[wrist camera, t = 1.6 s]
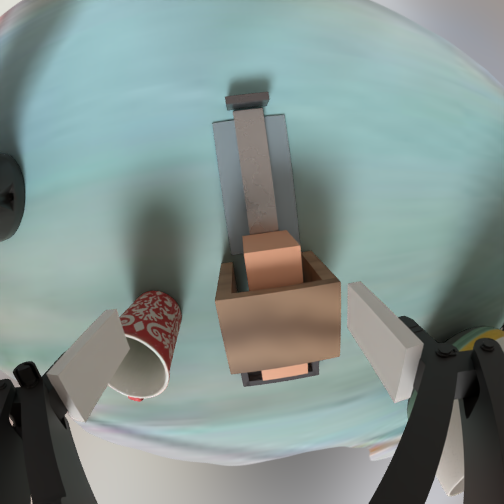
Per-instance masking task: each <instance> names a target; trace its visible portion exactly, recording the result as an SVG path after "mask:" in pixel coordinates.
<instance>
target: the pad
mask: <svg viewBox="0 0 504 504" xmlns="http://www.w3.org/2000/svg"><path fill="white" fill-rule="evenodd" d="M264 122H265V129H266V136H267V143H268V150H269V157H270V165H271V173H272V180H273V188H274V196H275V204H276V213H277V221H278V230H279V231H283V230H287V231H288V232H289V233H290V235H291V236H292V237H293V238H294V239H295V240H296V241H297V242H298V244H299V245H300V239H299V229H298V219H297V209H296V200H295V191H294V183H293V174H292V166H291V159H290V151H289V144H288V137H287V130H286V123H285V116H284V115H278V116H267V117H264ZM212 124H213V132H214V139H215V147H216V154H217V161H218V168H219V175H220V182H221V189H222V196H223V203H224V210H225V217H226V223H227V230H228V236H229V243H230V249H231V255H235V254H243V253H244V250H243V238H242V236H247V235H250V232H249V225H248V218H247V210H246V203H245V196H244V189H243V181H242V174H241V167H240V159H239V152H238V145H237V138H236V130H235V123H234V120H232V121H225V122H218V123H212Z"/></svg>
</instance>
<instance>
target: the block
mask: <svg viewBox="0 0 504 504" xmlns="http://www.w3.org/2000/svg"><path fill="white" fill-rule="evenodd" d="M242 238H243V250H244V258H245V265H246V272H247V279H248V286H249V291H254V290H261V289H268V288H275V287H281V286H288V285H294V284H300V283H303V272H302V259H301V248H300V245H299V244H298V242H297V241H296V240H295V239H294V238H293V237H292V236H291V235H290V233H289V232H288V231H287V230H283V231H276V232H268V233H261V234H254V235H247V236H242ZM307 373H308V363H305V364H300V365H294V366H288V367H282V368H276V369H269V370H262V378H263V381H265V380H271V379H278V378H284V377H290V376H296V375H301V374H307Z"/></svg>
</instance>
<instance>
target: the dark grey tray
mask: <svg viewBox="0 0 504 504" xmlns="http://www.w3.org/2000/svg"><path fill="white" fill-rule="evenodd" d="M315 375H319V361H315V362H310V363H308V373H307V374H301V375H296V376H290V377H284V378H278V379H271V380H265V381H263V378H262V371H255V372H247V373H241V376H242V381H243V386H244V387H246V386H254V385H262V384H269V383H276V382H282V381H288V380H294V379H299V378H305V377H310V376H315Z"/></svg>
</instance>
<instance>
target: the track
mask: <svg viewBox="0 0 504 504" xmlns="http://www.w3.org/2000/svg"><path fill="white" fill-rule="evenodd" d="M225 100H226V107H227V110H233V109H241V108H249V107H259V106H267V104H268V102H269V94H268V92H262V93H252V94H243V95H234V96H227V97H225ZM233 116H234V123H235V130H236V138H237V145H238V152H239V159H240V167H241V174H242V181H243V189H244V196H245V203H246V210H247V218H248V225H249V232H250V235H254V234H261V233H268V232H276V231H279V230H278V221H277V213H276V204H275V196H274V188H273V180H272V173H271V165H270V157H269V150H268V143H267V136H266V129H265V122H264V115H263V108H258V109H249V110H240V111H233Z"/></svg>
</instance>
